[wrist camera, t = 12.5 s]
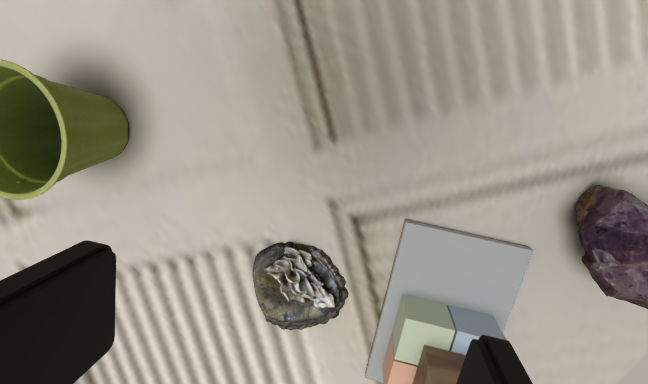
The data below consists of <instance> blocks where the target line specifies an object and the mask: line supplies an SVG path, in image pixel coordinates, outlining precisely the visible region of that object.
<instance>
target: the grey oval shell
mask: <svg viewBox="0 0 648 384" xmlns="http://www.w3.org/2000/svg"><path fill="white" fill-rule="evenodd" d="M253 281H254V287H255V293H256V297H257V300H258V303H259V306H260V308H261V310H262V312H263V314H264V315H265V317H266V321H267V322H271V323H272V324H274V325H278V326H279V327H280V328H281V329H288V330H292V329H304V328H307V327H312V326H315V325H317V324H319V323H320V324H325V323H327V322H328V320H329V319H330V318H335V317H337V316H338V315H339V310H340V309H341V308H342V307H343V305H344V303H345V299H346V298H347V297H348V291H347V289H346V288H345V287H344V286H345V283H346V282H345V279H344V277H343V276H341V275H340V273H339V270H338V268H337V267H336V266H334V265H333V263H332V261H331V258H330V257H329V256H327V255H326V253H324V252H323V250H320V249H317V248H316V247H315V246H307V245H304V244H294V243H292V242H287V243H282V242H281V243H277V244H274V245H272V246H270V247H268V248H266V249H264V250H262V251H261V252H260V253H259V254H258V255H257V256H256V257H255V262H254V265H253Z"/></svg>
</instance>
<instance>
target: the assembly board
mask: <svg viewBox="0 0 648 384" xmlns="http://www.w3.org/2000/svg"><path fill="white" fill-rule="evenodd" d="M532 252H533V250H532V249H531V248H530V247H527V246H522V245H518V244H513V243H509V242H504V241H500V240H495V239H491V238H487V237H482V236H478V235H473V234H469V233H464V232H460V231H455V230H451V229H446V228H442V227H437V226H433V225H428V224H424V223H419V222H415V221H410V220H406V219H405V222H404V226H403V230H402V234H401V237H400V241H399V245H398V249H397V253H396V257H395V260H394V264H393V268H392V272H391V276H390V280H389V284H388V287H387V291H386V295H385V299H384V303H383V307H382V311H381V314H380V318H379V322H378V326H377V330H376V334H375V337H374V341H373V345H372V349H371V353H370V357H369V361H368V364H367V368H366V372H365V378H367V379H371V380H375V381H378V382H382V383H383V368H382V367H383V363H384V360H385V356H386V352H387V349H388V345H389V341H390V338H391V334H392V330H393V327H394V323H395V319H396V316H397V312H398V308H399V305H400V301H401V297H402V294H406V295H410V296H415V297H419V298H423V299H427V300H431V301H435V302H439V303H443V304H446V305H447V306H448V305H452V306H456V307H460V308H464V309H468V310H472V311H476V312H481V313H485V314H489V315H493V317H494V319H495V320H496V322H497V324H498V326H499V328H500V329H501V331H502V333H503V331H504V328H505V326H506V323H507V320H508V318H509V315H510V312H511V309H512V307H513V304H514V301H515V298H516V296H517V293H518V290H519V287H520V285H521V282H522V279H523V276H524V274H525V271H526V268H527V265H528V263H529V260H530V257H531V255H532Z"/></svg>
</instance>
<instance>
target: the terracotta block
mask: <svg viewBox="0 0 648 384" xmlns="http://www.w3.org/2000/svg"><path fill="white" fill-rule="evenodd" d="M417 367H418V365H415V364H411V363H407V362H403V361H399V360H395V359H394V347H393V332H392V334H391V338H390V341H389V345H388V349H387V352H386V356H385V360H384V363H383V367H382V368H383V384H413V380H414V377H415V374H416V370H417Z"/></svg>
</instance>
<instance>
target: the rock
mask: <svg viewBox="0 0 648 384" xmlns="http://www.w3.org/2000/svg"><path fill="white" fill-rule="evenodd" d="M575 209H576V212H577V214H576V216H577V225H578V226H579V231H578V232H579V236H580V242H581V244H582V246H583V247H584V248H585V256H582V262H583V263H584V264H585V265H586V267H587V268H588V270H589V271H590V274H591V276H592V278H593V279H594V281H595V282H596V283H597V284H598V286H599V287H600V289H601V290H602V291H603V292H604V293H605V295H606V296H611V297H614V298H616V299H620V300H625V301H628V302H630V303H632V304H636V305H638V306H641V307H644V308H647V309H648V205H647V204H645V203H644V202H642V201H640V200H639V199H638V198H636V197H635V196H634V195H633V194H632V193H631V194H630V193H628V192H626V191H624V190H615V189H612V188H610V187H603V186H600V185H598V186H594V187H592V188H591V189H590V190H589V191H588V192H586V193H584V195H583V196H582V197H581V198H580V200H579V202H578V204H577V205H576V208H575Z"/></svg>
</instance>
